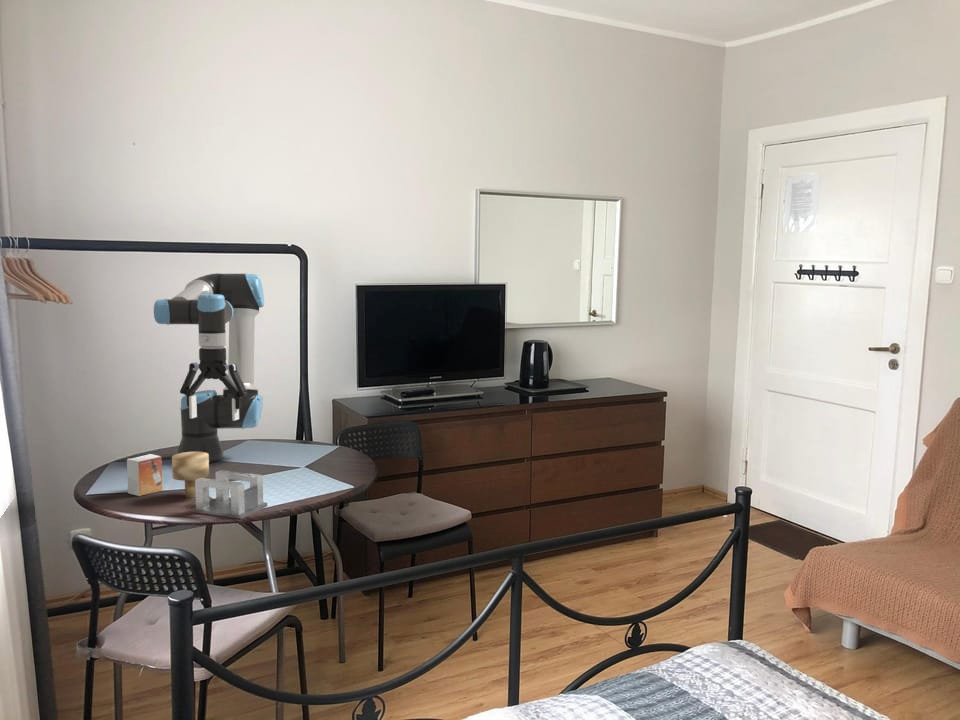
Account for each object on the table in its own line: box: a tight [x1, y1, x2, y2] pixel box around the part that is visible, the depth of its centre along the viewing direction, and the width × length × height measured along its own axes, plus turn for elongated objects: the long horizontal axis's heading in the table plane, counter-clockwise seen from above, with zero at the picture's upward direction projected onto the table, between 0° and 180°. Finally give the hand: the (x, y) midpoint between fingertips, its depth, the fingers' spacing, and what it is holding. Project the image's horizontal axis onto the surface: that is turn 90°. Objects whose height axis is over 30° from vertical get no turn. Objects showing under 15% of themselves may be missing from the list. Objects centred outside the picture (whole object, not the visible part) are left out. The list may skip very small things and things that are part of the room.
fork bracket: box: [191, 469, 268, 520], centre depth 217 cm, size 16×12×9 cm
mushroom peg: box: [171, 452, 210, 499], centre depth 229 cm, size 10×10×12 cm
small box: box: [126, 453, 163, 497], centre depth 232 cm, size 8×6×10 cm
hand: (214, 418), depth 232 cm, fingers open, 13 cm apart
